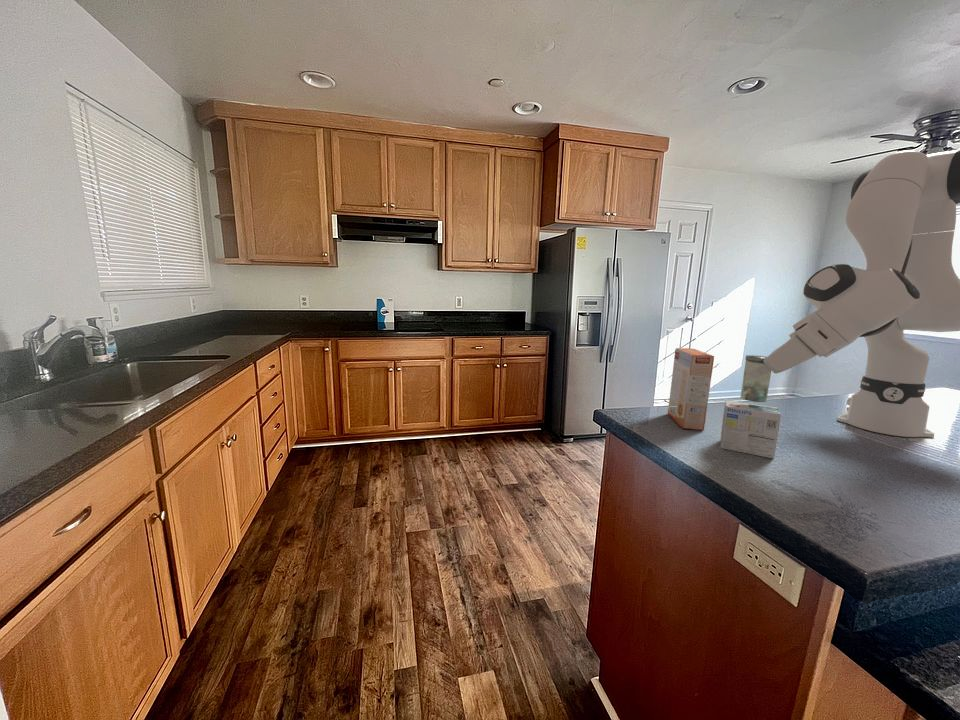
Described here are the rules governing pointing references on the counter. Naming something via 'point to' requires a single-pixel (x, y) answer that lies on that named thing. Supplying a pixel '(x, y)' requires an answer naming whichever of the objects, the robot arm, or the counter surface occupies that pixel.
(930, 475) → the counter surface
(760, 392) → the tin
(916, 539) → the counter surface
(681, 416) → the cracker box
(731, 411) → the light bulb box
